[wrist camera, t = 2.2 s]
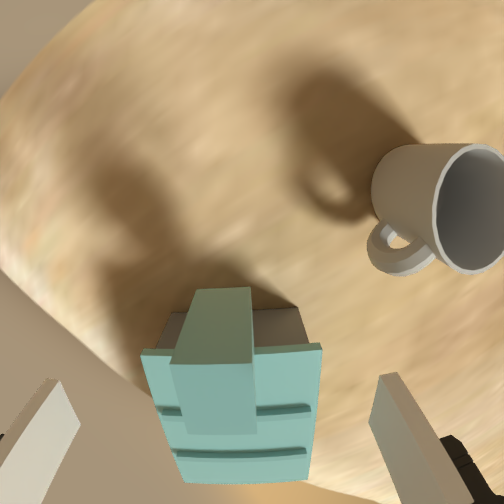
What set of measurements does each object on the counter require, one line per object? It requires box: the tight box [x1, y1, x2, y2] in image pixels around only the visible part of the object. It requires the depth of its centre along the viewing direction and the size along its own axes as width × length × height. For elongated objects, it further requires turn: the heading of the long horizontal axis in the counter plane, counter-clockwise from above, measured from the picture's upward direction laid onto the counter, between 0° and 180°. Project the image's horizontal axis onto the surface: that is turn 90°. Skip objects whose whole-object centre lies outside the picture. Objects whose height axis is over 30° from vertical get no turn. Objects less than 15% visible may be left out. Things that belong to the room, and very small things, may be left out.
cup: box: [367, 144, 504, 276], centre depth 18 cm, size 7×10×9 cm
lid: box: [140, 287, 322, 484], centre depth 17 cm, size 19×11×7 cm, turn 3°
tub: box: [155, 307, 309, 349], centre depth 23 cm, size 14×10×6 cm
